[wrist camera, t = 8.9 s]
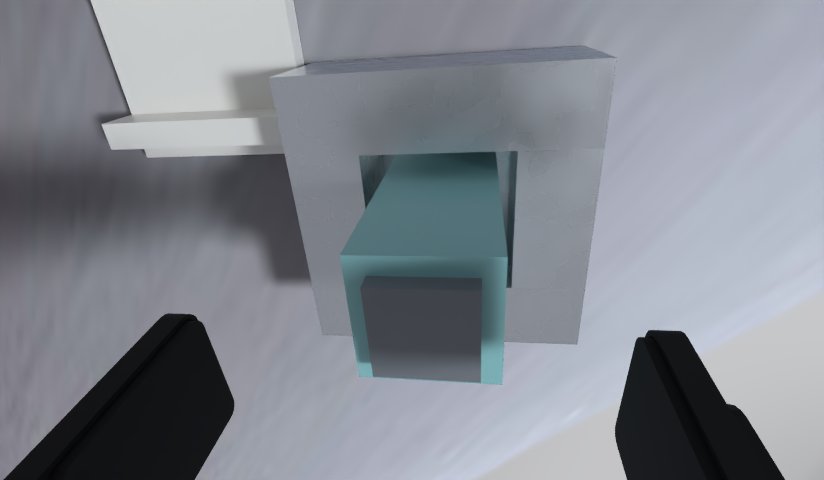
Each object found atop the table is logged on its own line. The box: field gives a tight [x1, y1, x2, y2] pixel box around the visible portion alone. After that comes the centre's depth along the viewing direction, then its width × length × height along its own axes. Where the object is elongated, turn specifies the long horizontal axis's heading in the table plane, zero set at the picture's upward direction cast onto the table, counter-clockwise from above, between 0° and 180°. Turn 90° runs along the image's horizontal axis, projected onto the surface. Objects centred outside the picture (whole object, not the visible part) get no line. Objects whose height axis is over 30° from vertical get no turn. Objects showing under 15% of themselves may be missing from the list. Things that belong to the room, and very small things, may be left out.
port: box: [269, 46, 617, 344], centre depth 20 cm, size 12×12×6 cm
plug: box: [340, 152, 508, 385], centre depth 17 cm, size 4×4×11 cm
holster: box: [91, 0, 304, 158], centre depth 19 cm, size 10×9×3 cm
